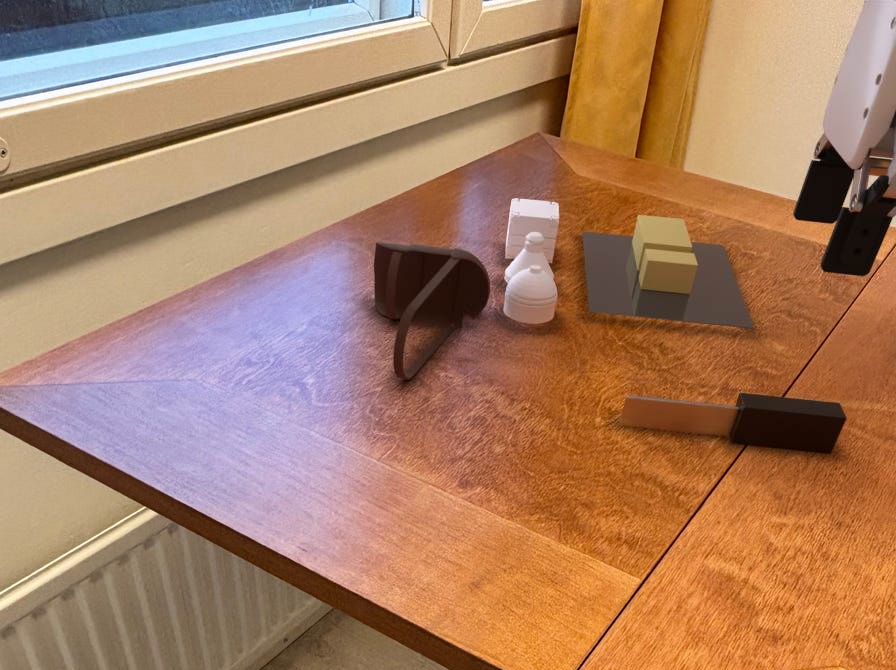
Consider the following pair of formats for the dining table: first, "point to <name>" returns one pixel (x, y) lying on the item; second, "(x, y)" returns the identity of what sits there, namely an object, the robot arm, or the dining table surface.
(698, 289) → the slate board
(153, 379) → the dining table surface
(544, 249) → the container set
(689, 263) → the butter pat
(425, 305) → the brown basket
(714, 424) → the knife
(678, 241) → the butter block
